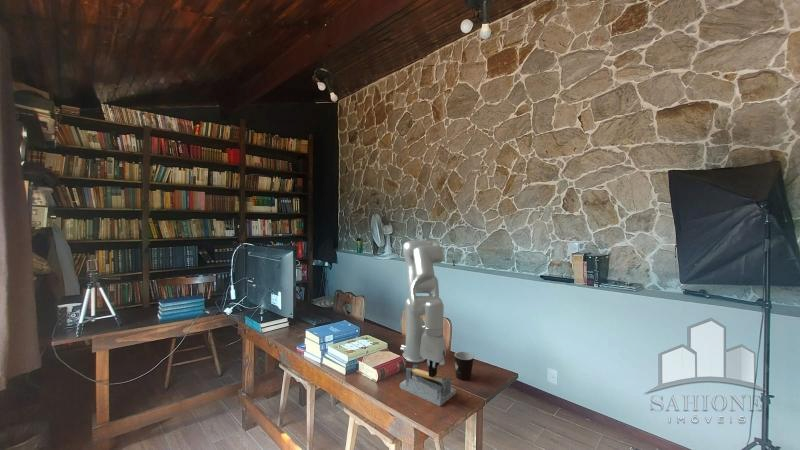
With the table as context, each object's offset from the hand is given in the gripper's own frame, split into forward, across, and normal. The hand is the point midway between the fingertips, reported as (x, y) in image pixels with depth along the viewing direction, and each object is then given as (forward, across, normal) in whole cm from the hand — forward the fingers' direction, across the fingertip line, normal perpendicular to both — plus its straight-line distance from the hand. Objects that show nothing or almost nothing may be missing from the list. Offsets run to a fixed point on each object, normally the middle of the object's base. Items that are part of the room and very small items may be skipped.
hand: (432, 375), depth 136 cm
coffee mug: (+8, +2, +23) cm, 24 cm away
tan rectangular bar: (+2, -3, +1) cm, 4 cm away
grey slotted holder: (+8, -3, +1) cm, 8 cm away
